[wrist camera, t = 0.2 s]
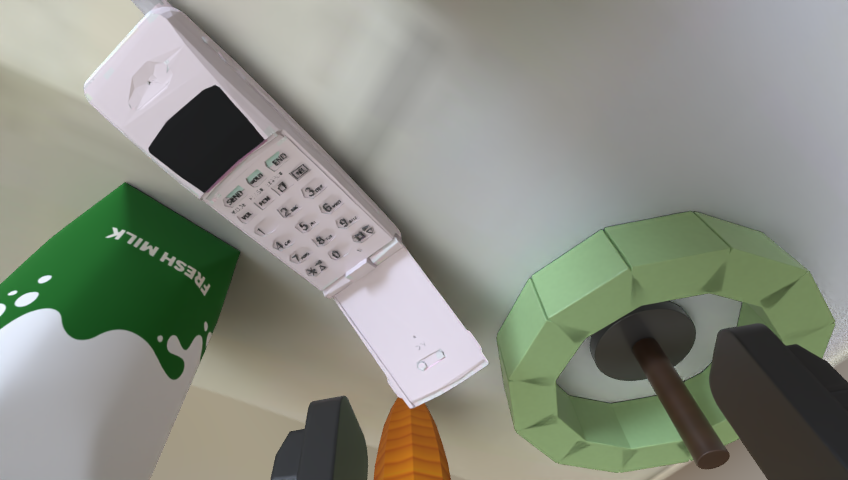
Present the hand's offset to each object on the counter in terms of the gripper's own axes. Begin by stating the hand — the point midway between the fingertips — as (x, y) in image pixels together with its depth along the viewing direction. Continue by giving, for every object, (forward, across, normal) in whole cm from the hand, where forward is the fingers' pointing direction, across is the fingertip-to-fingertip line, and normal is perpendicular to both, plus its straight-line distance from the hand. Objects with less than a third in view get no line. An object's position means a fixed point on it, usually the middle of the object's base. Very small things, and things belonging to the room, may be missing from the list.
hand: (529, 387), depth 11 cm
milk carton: (+17, +18, +4) cm, 26 cm away
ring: (+17, -11, +18) cm, 27 cm away
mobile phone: (+17, +8, +2) cm, 19 cm away
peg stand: (+17, -11, +18) cm, 27 cm away
